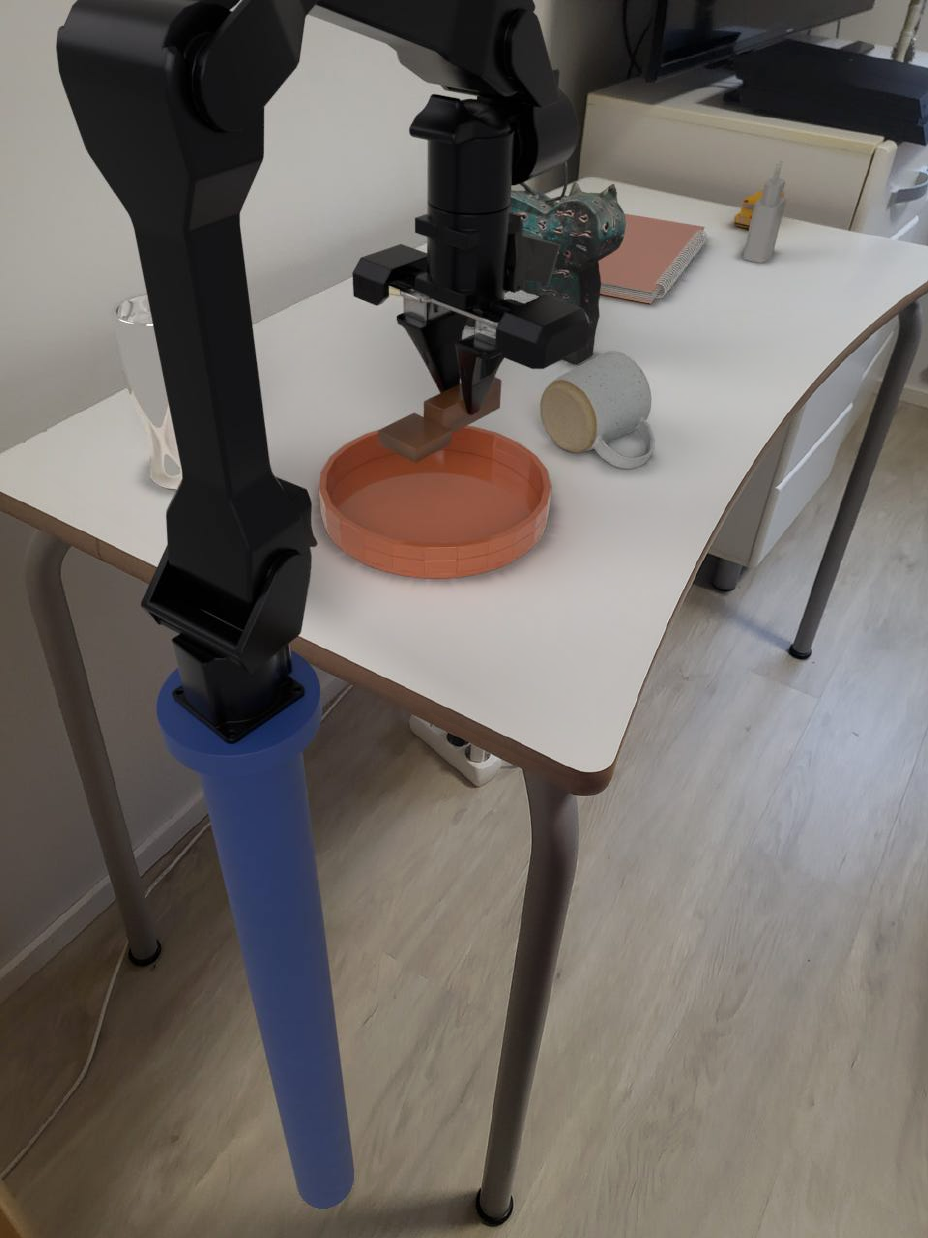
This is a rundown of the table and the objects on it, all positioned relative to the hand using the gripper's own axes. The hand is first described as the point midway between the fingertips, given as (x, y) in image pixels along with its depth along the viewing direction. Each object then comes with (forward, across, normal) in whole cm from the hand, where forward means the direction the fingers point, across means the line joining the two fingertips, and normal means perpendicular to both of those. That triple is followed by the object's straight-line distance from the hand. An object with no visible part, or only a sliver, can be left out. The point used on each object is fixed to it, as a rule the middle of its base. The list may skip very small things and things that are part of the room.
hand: (462, 407), depth 74 cm
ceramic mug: (+10, -3, -17) cm, 20 cm away
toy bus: (+10, +19, -88) cm, 91 cm away
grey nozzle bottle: (+10, +12, -75) cm, 77 cm away
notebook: (+10, +24, -60) cm, 65 cm away
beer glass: (+10, +21, +13) cm, 26 cm away
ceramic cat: (+10, +17, -30) cm, 36 cm away
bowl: (+9, +1, +2) cm, 10 cm away
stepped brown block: (+1, 0, +2) cm, 2 cm away
